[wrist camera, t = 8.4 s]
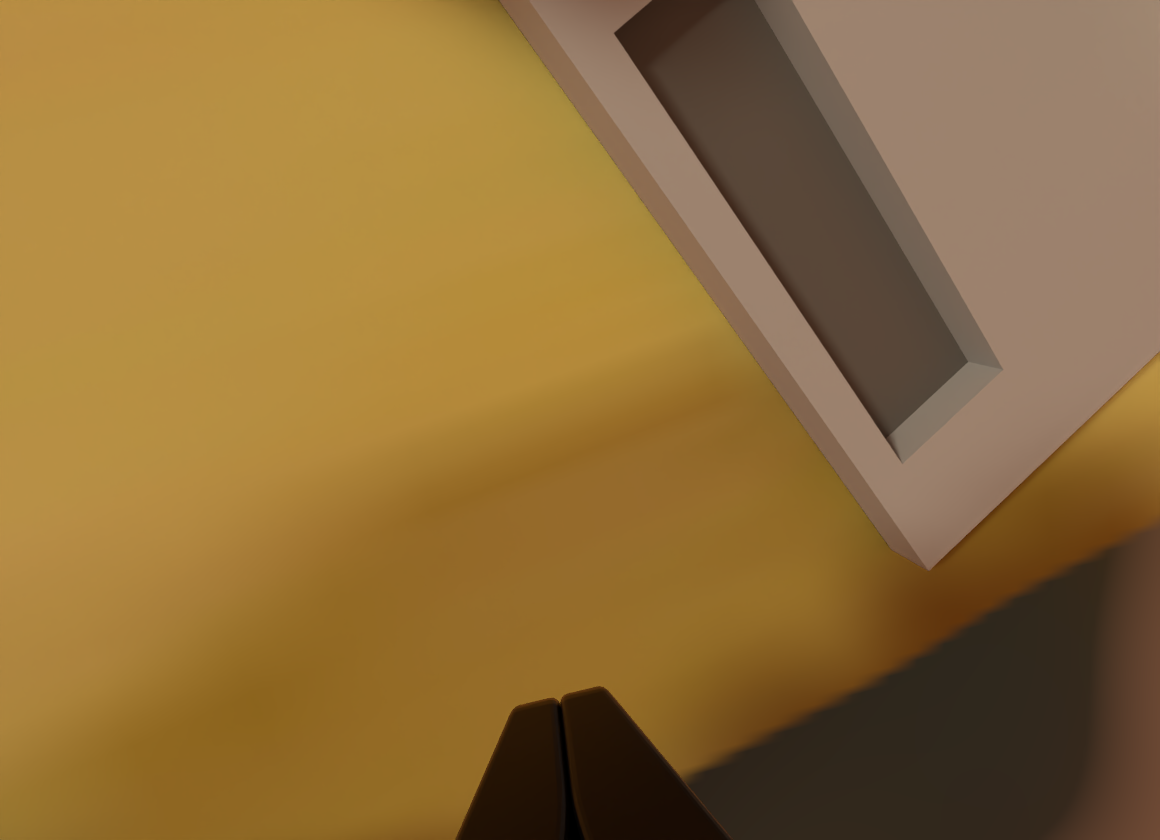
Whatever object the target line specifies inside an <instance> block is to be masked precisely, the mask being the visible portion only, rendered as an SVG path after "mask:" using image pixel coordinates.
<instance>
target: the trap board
mask: <svg viewBox="0 0 1160 840" xmlns="http://www.w3.org/2000/svg"><path fill="white" fill-rule="evenodd" d="M499 1H500V3H501V4H502V6H503V7H504V8H505V10H506V11H507V13H508V14H509V15H510V17H511V18H512V20H513V21H514V22H515V24H516V25H517V27H518V28H519V29H520V31H521V32H522V34H523V35H524V36H525V38H526V39H527V41H528V42H529V43H530V45H531V46H532V48H533V49H534V50H535V52H536V53H537V55H538V56H539V57H540V59H541V60H542V62H543V63H544V64H545V66H546V67H547V69H548V70H549V71H550V73H551V74H552V75H553V77H554V78H555V80H556V81H557V82H558V84H559V85H560V87H561V88H562V89H563V91H564V92H565V94H566V95H567V96H568V98H569V99H570V101H571V102H572V103H573V105H574V106H575V108H576V109H577V110H578V112H579V113H580V115H581V116H582V117H583V119H584V120H585V122H586V123H587V124H588V126H589V127H590V129H591V130H592V131H593V133H594V134H595V136H596V137H597V138H598V140H599V141H600V143H601V144H602V145H603V147H604V148H605V150H606V151H607V152H608V154H609V155H610V157H611V158H612V159H613V161H614V162H615V164H616V165H617V166H618V168H619V169H620V171H621V172H622V173H623V175H624V176H625V178H626V179H627V180H628V182H629V183H630V185H631V186H632V187H633V189H634V190H635V192H636V193H637V194H638V196H639V197H640V199H641V200H642V201H643V203H644V204H645V206H646V207H647V208H648V210H649V211H650V213H651V214H652V215H653V217H654V218H655V220H656V221H657V222H658V224H659V225H660V227H661V228H662V229H663V231H664V232H665V234H666V235H667V236H668V238H669V239H670V241H671V242H672V243H673V245H674V246H675V248H676V249H677V250H678V252H679V253H680V255H681V256H682V257H683V259H684V260H685V262H686V263H687V264H688V266H689V267H690V269H691V270H692V271H693V273H694V274H695V276H696V277H697V278H698V280H699V281H700V283H701V284H702V285H703V287H704V288H705V290H706V291H707V292H708V294H709V295H710V297H711V298H712V299H713V301H714V302H715V304H716V305H717V306H718V308H719V309H720V311H721V312H722V313H723V315H724V316H725V318H726V319H727V320H728V322H729V323H730V325H731V326H732V327H733V329H734V330H735V332H736V333H737V334H738V336H739V337H740V339H741V340H742V341H743V343H744V344H745V346H746V347H747V348H748V350H749V351H750V353H751V354H752V355H753V357H754V358H755V359H756V361H757V362H758V364H759V365H760V366H761V368H762V369H763V371H764V372H765V373H766V375H767V376H768V378H769V379H770V380H771V382H772V383H773V385H774V386H775V387H776V389H777V390H778V392H779V393H780V394H781V396H782V397H783V399H784V400H785V401H786V403H787V404H788V406H789V407H790V408H791V410H792V411H793V413H794V414H795V415H796V417H797V418H798V420H799V421H800V422H801V424H802V425H803V427H804V428H805V429H806V431H807V432H808V434H809V435H810V436H811V438H812V439H813V441H814V442H815V443H816V445H817V446H818V448H819V449H820V450H821V452H822V453H823V455H824V456H825V457H826V459H827V460H828V462H829V463H830V464H831V466H832V467H833V469H834V470H835V471H836V473H837V474H838V476H839V477H840V478H841V480H842V481H843V483H844V484H845V485H846V487H847V488H848V490H849V491H850V492H851V494H852V495H853V497H854V498H855V499H856V501H857V502H858V504H859V505H860V506H861V508H862V509H863V511H864V512H865V513H866V515H867V516H868V518H869V519H870V520H871V522H872V523H873V525H874V526H875V527H876V529H877V530H878V532H879V533H880V534H881V536H882V537H883V539H884V540H885V541H886V543H887V544H888V546H889V547H890V548H891V550H893V551H895V552H897V553H898V554H900V555H902V556H903V557H905V558H907V559H909V560H910V561H912V562H914V563H916V564H917V565H919V566H921V567H922V568H924V569H926V570H928V571H929V570H930V569H931V568H932V567H933V566H934V565H936V564H937V563H938V562H939V561H940V560H941V559H942V558H943V557H944V556H945V555H946V554H947V553H948V552H949V551H950V550H951V549H952V548H953V547H954V546H955V545H957V544H958V543H959V542H960V541H961V540H962V539H963V538H964V537H965V536H966V535H967V534H968V533H969V532H970V531H971V530H972V529H973V528H974V527H975V526H977V525H978V524H979V523H980V522H981V521H982V520H983V519H984V518H985V517H986V516H987V515H988V514H989V513H990V512H991V511H992V510H993V509H994V508H995V507H996V506H998V505H999V504H1000V503H1001V502H1002V501H1003V500H1004V499H1005V498H1006V497H1007V496H1008V495H1009V494H1010V493H1011V492H1012V491H1013V490H1014V489H1015V488H1016V487H1018V486H1019V485H1020V484H1021V483H1022V482H1023V481H1024V480H1025V479H1026V478H1027V477H1028V476H1029V475H1030V474H1031V473H1032V472H1033V471H1034V470H1035V469H1036V468H1037V467H1039V466H1040V465H1041V464H1042V463H1043V462H1044V461H1045V460H1046V459H1047V458H1048V457H1049V456H1050V455H1051V454H1052V453H1053V452H1054V451H1055V450H1056V449H1057V448H1059V447H1060V446H1061V445H1062V444H1063V443H1064V442H1065V441H1066V440H1067V439H1068V438H1069V437H1070V436H1071V435H1072V434H1073V433H1074V432H1075V431H1076V430H1077V429H1078V428H1080V427H1081V426H1082V425H1083V424H1084V423H1085V422H1086V421H1087V420H1088V419H1089V418H1090V417H1091V416H1092V415H1093V414H1094V413H1095V412H1096V411H1097V410H1098V409H1100V408H1101V407H1102V406H1103V405H1104V404H1105V403H1106V402H1107V401H1108V400H1109V399H1110V398H1111V397H1112V396H1113V395H1114V394H1115V393H1116V392H1117V391H1118V390H1119V389H1121V388H1122V387H1123V386H1124V385H1125V384H1126V383H1127V382H1128V381H1129V380H1130V379H1131V378H1132V377H1133V376H1134V375H1135V374H1136V373H1137V372H1138V371H1139V370H1141V369H1142V368H1143V367H1144V366H1145V365H1146V364H1147V363H1148V362H1149V361H1150V360H1151V359H1152V358H1153V357H1154V356H1155V355H1156V354H1157V353H1158V352H1159V351H1160V0H499Z"/></svg>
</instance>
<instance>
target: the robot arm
mask: <svg viewBox="0 0 1160 840" xmlns="http://www.w3.org/2000/svg"><path fill="white" fill-rule="evenodd" d="M455 840H733V839H732V838H731V837H730V836H729V834H728V833H727V832H726V831H725V829H724V828H723V827H722V826H721V825H720V824H719V822H718V821H717V820H716V819H715V817H714V816H713V815H712V814H711V813H710V812H709V810H708V809H707V808H706V807H705V806H704V805H703V803H702V802H701V801H700V800H699V799H698V797H697V796H696V795H695V794H694V792H693V791H692V790H691V789H690V788H689V787H688V785H687V784H686V783H685V782H684V780H683V779H682V778H681V777H680V776H679V774H678V773H677V772H676V771H675V770H674V769H673V767H672V766H671V765H670V764H669V763H668V761H667V760H666V759H665V758H664V757H663V755H662V754H661V753H660V752H659V751H658V749H657V748H656V747H655V746H654V745H653V743H652V742H651V741H650V740H649V739H648V737H647V736H646V735H645V734H644V733H643V731H642V730H641V729H640V728H639V727H638V726H637V724H636V723H635V722H634V721H633V720H632V718H631V717H630V716H629V715H628V714H627V712H626V711H625V710H624V709H623V708H622V706H621V705H620V704H619V703H618V702H617V700H616V699H615V698H614V697H613V696H612V694H611V693H610V692H609V691H608V690H607V689H605V688H604V687H600V686H598V687H593V688H589V689H585V690H581V691H577V692H572V693H568V694H566V695H564V696H563V697H562V699H561V702H560V703H559V701H558V700H557V699H555V698H547V699H543V700H539V701H535V702H531V703H527V704H522V705H519V706H517V707H515V708H514V709H513V710H512V712H511V714H510V716H509V718H508V720H507V722H506V725H505V727H504V729H503V732H502V734H501V736H500V738H499V741H498V743H497V745H496V748H495V750H494V752H493V755H492V757H491V759H490V761H489V764H488V766H487V768H486V771H485V773H484V775H483V777H482V780H481V782H480V784H479V787H478V789H477V791H476V793H475V796H474V798H473V800H472V803H471V805H470V807H469V810H468V812H467V814H466V816H465V819H464V821H463V823H462V826H461V828H460V830H459V832H458V835H457V837H456V839H455Z"/></svg>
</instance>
